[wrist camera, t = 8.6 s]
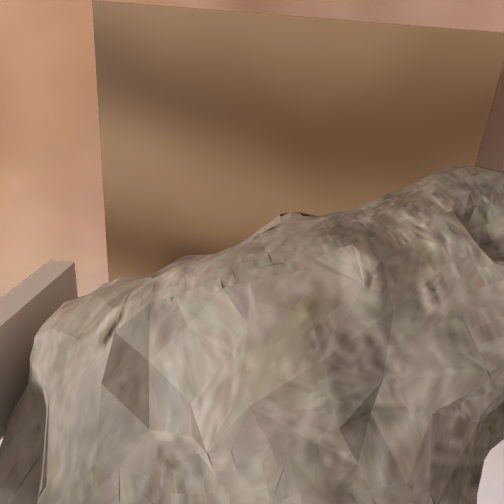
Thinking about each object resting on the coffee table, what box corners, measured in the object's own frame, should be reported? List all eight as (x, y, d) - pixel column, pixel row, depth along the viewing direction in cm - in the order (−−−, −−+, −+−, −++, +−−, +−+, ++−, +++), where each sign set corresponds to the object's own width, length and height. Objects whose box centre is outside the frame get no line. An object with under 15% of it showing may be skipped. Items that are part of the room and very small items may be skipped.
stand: (124, 16, 15) (92, 0, 13) (468, 44, 15) (511, 33, 12) (137, 393, 22) (118, 437, 19) (377, 416, 22) (392, 464, 19)
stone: (508, 354, 15) (918, 814, 5) (143, 428, 17) (-18, 849, 7) (488, 108, 12) (1339, 184, 2) (45, 236, 14) (-428, 542, 4)
